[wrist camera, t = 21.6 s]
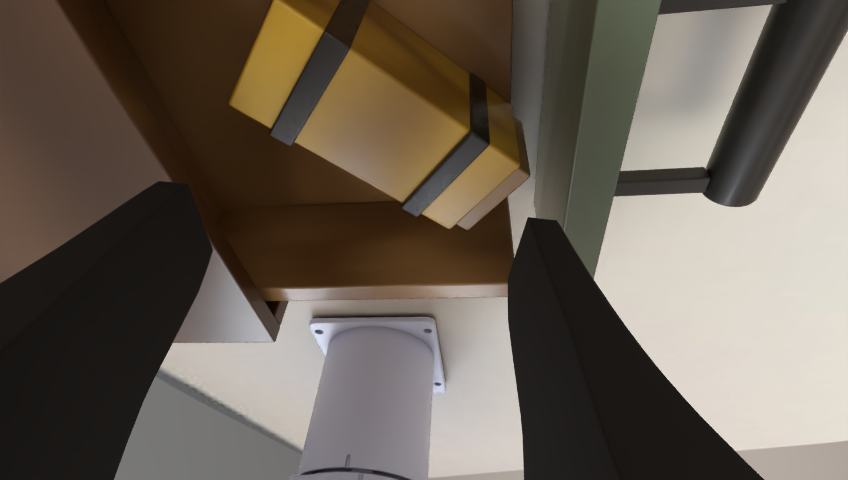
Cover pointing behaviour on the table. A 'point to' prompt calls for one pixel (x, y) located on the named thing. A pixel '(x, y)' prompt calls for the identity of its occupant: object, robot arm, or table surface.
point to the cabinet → (96, 160)
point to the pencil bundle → (383, 108)
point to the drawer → (491, 62)
